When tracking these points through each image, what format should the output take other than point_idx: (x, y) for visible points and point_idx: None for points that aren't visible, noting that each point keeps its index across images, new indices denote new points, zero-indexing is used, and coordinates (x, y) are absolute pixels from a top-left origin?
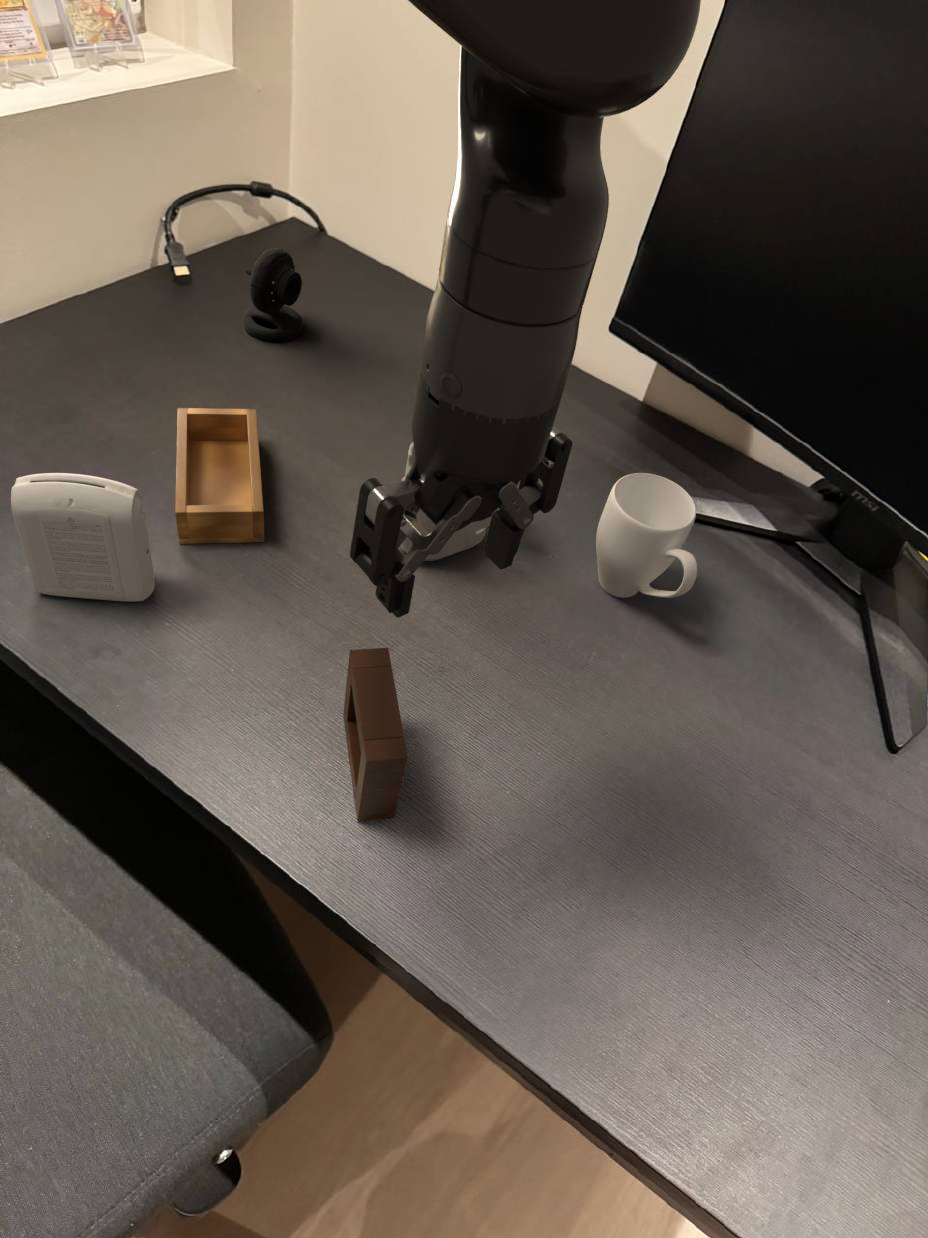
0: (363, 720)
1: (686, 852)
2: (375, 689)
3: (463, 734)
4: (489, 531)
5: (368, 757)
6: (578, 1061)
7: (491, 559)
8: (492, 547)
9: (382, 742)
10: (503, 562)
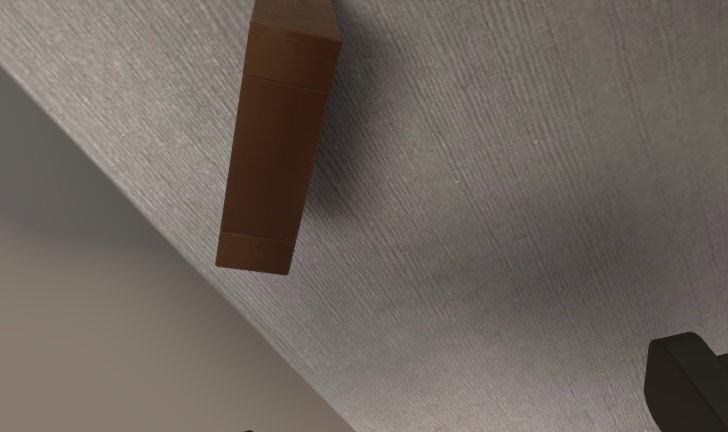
0: (231, 197)
1: (602, 300)
2: (276, 138)
3: (448, 76)
4: (720, 424)
5: (221, 261)
6: (369, 410)
7: (650, 364)
8: (680, 402)
9: (254, 242)
10: (665, 428)
